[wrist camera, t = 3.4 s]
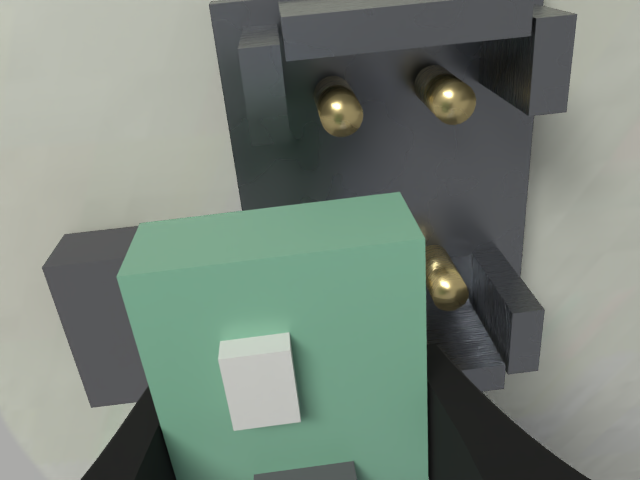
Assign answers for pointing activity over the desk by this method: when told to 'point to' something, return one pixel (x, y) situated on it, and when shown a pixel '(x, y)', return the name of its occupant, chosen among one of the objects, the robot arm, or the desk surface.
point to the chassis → (408, 138)
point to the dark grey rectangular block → (97, 313)
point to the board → (285, 340)
